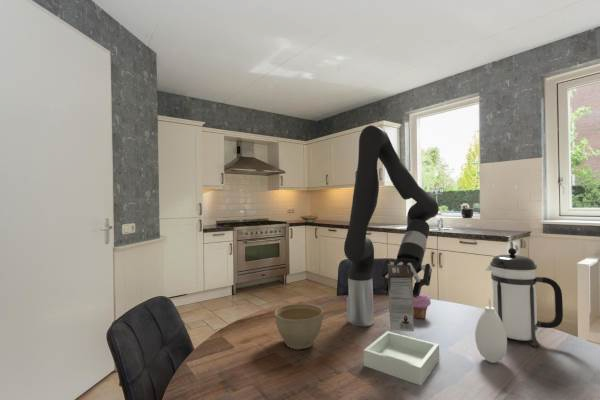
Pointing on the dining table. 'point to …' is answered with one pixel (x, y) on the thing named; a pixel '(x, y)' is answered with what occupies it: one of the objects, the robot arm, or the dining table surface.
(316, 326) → the planter bowl
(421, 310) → the cupcake
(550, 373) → the dining table surface
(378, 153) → the robot arm
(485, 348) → the sauce bottle
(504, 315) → the coffee press
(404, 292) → the coffee box
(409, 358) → the tub
